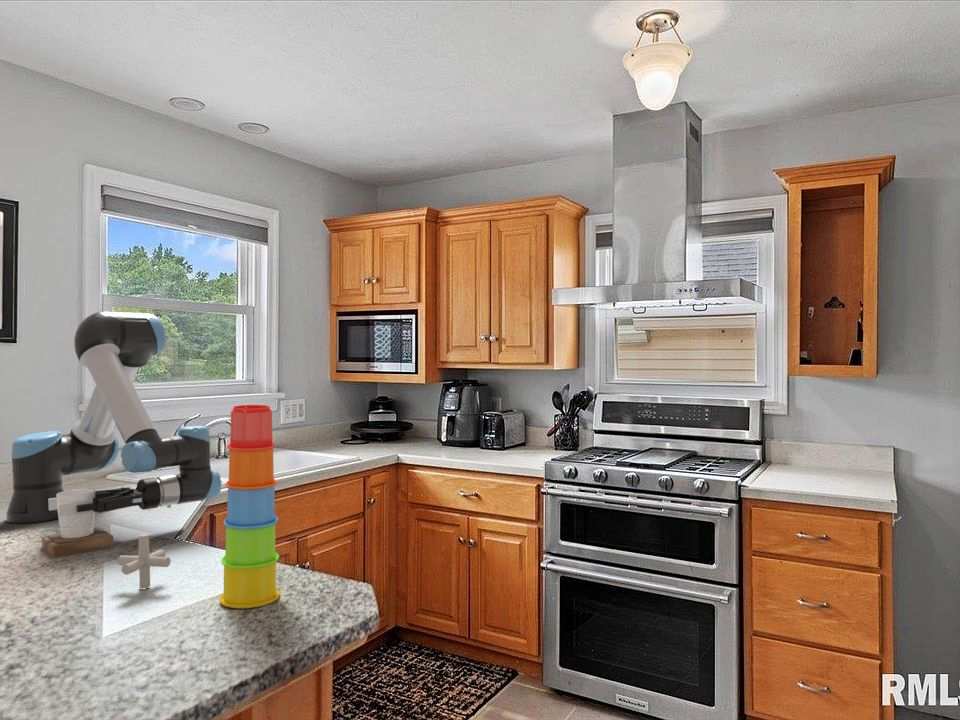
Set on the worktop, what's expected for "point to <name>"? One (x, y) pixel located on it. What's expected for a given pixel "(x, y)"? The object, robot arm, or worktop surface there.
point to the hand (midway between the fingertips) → (54, 507)
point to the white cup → (80, 522)
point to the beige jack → (143, 561)
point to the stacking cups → (250, 511)
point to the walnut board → (76, 543)
